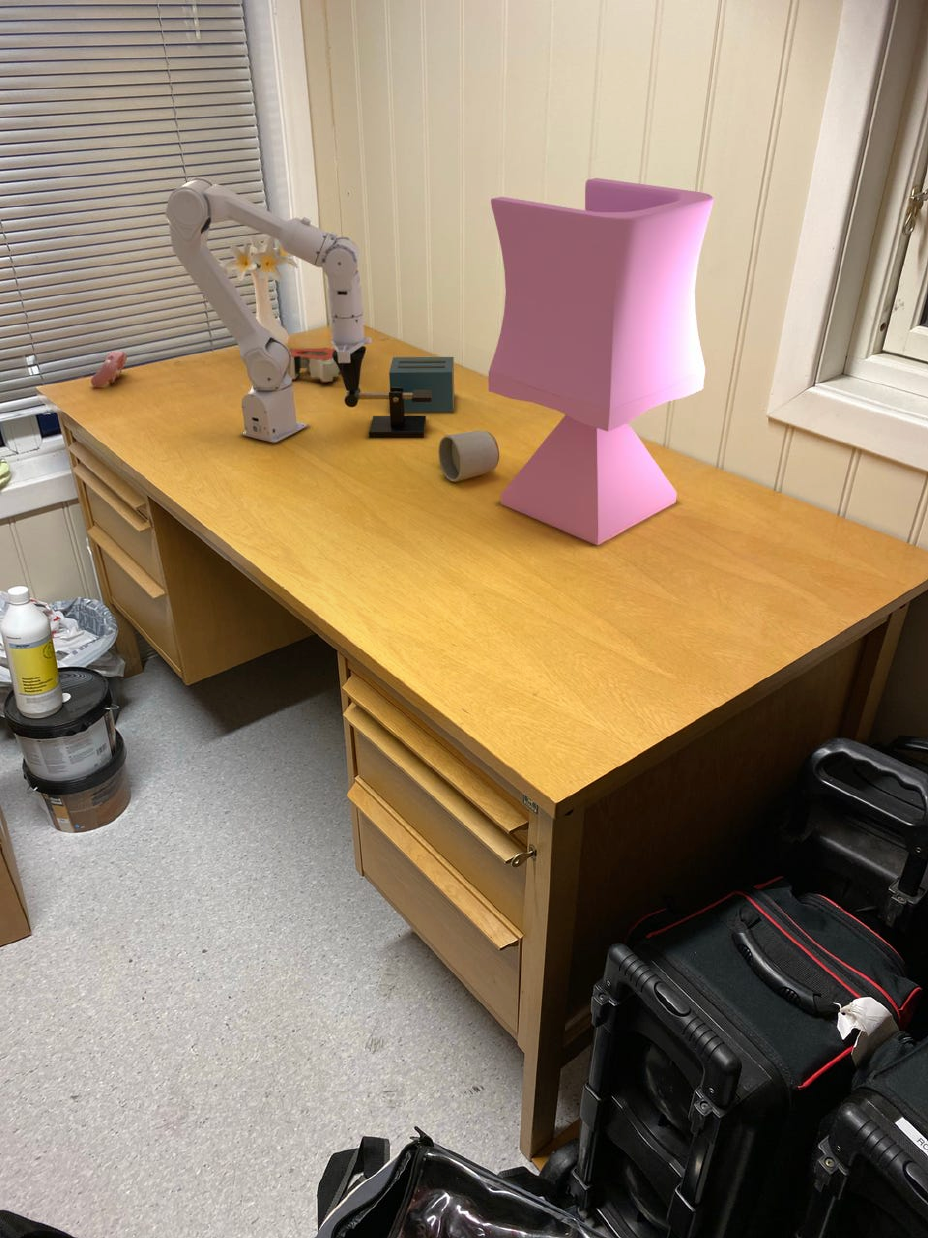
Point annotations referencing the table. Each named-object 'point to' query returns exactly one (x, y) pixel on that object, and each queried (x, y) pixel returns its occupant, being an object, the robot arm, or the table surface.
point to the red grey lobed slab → (314, 363)
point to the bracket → (397, 420)
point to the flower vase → (261, 277)
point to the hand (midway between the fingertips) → (352, 389)
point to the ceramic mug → (468, 454)
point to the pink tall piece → (598, 344)
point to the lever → (386, 396)
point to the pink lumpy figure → (110, 369)
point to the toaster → (425, 381)
